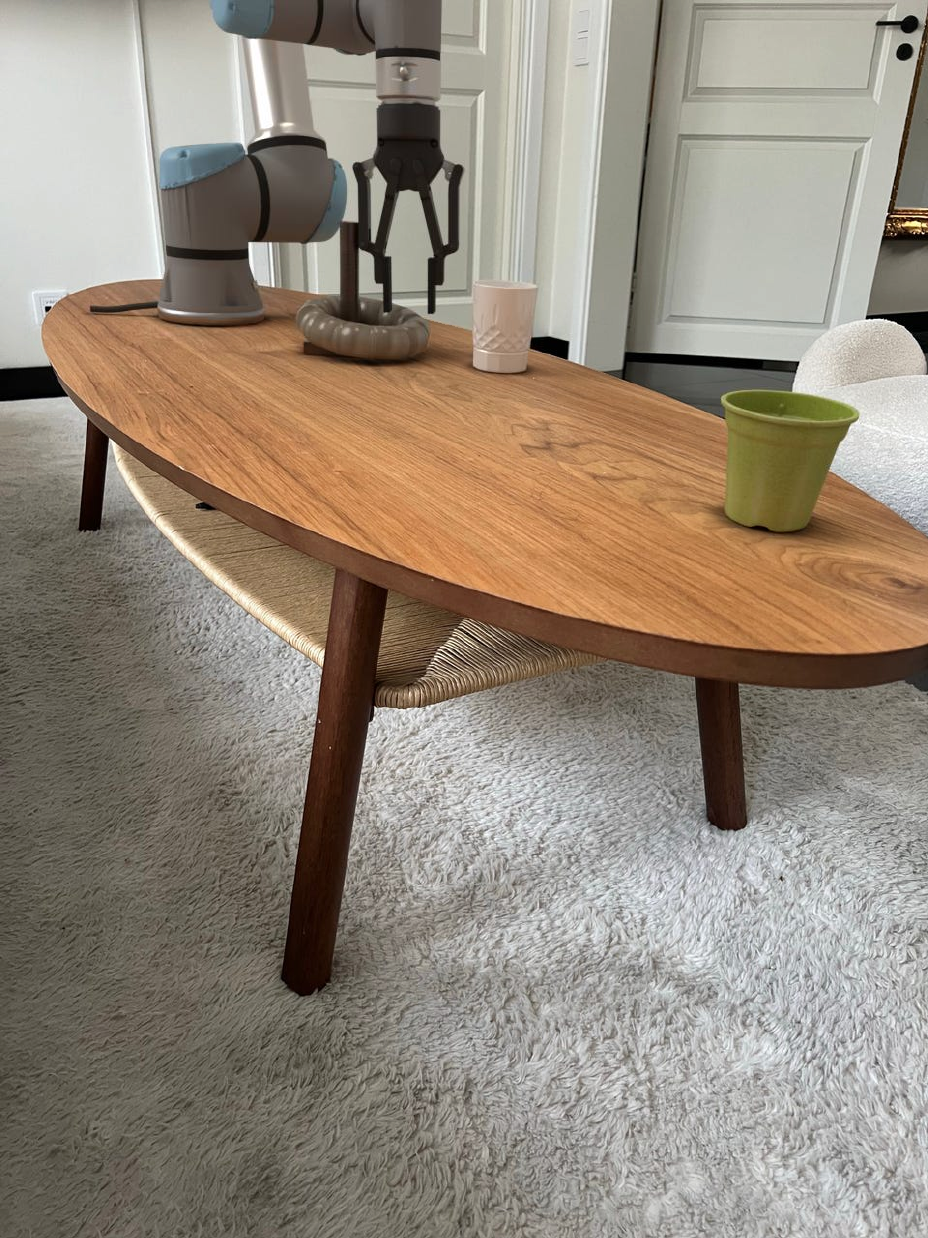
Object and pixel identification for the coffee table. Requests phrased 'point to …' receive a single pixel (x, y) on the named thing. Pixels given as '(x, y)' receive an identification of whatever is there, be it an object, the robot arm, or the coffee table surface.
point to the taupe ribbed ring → (364, 329)
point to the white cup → (502, 324)
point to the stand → (345, 282)
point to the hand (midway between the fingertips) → (409, 311)
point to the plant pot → (780, 454)
